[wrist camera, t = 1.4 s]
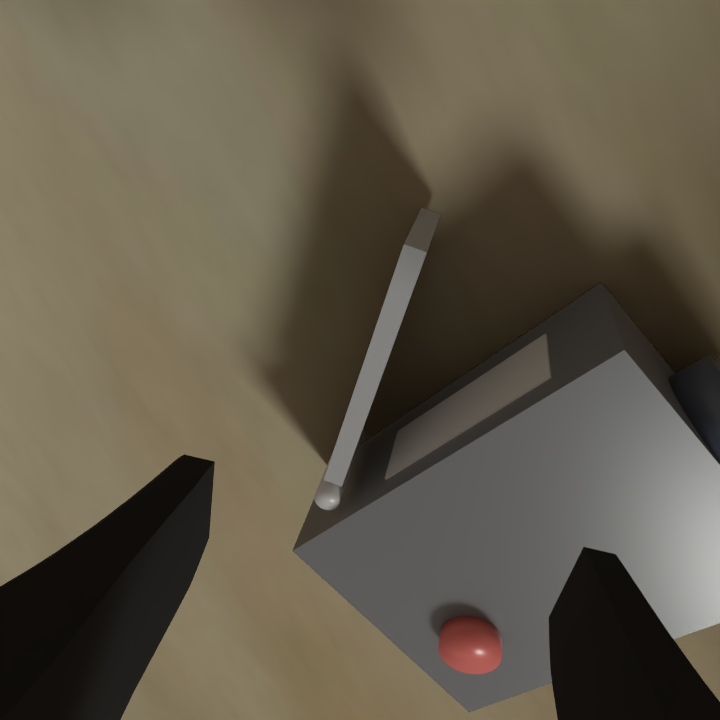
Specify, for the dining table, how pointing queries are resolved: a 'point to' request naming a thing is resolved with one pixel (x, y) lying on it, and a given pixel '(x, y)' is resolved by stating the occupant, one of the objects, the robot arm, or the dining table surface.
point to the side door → (376, 359)
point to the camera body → (530, 500)
